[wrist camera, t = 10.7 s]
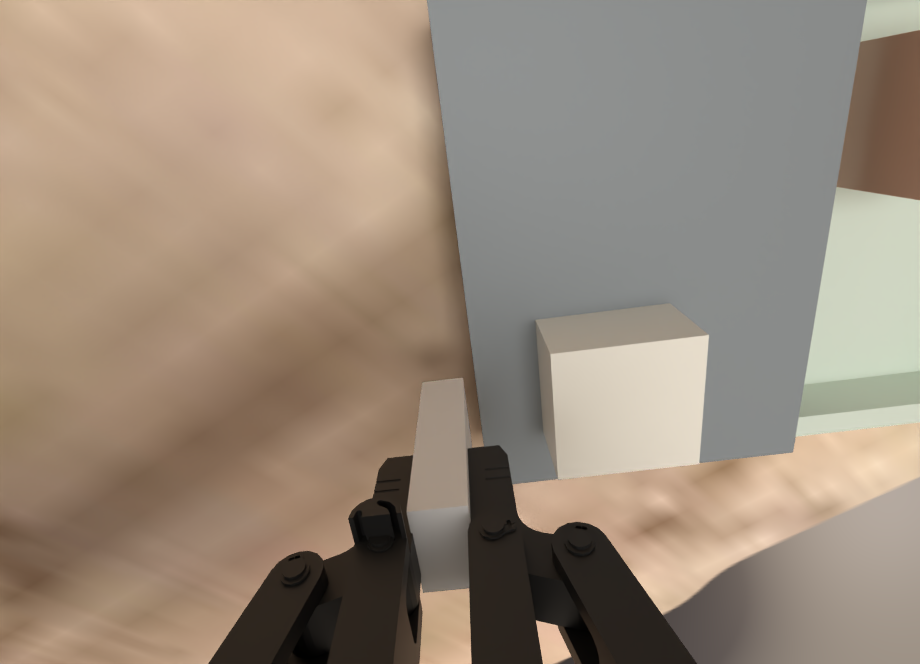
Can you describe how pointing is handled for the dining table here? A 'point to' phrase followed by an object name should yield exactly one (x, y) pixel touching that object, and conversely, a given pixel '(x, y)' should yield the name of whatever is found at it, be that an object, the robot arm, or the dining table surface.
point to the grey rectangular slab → (645, 189)
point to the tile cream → (622, 390)
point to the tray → (868, 296)
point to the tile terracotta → (884, 119)
